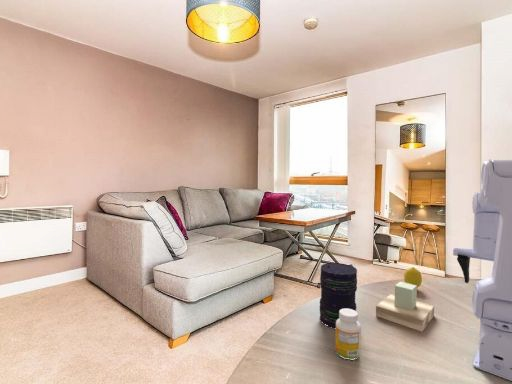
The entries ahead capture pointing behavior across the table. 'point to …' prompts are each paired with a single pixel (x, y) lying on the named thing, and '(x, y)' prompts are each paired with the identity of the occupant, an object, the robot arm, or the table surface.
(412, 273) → the lemon
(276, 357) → the table surface
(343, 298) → the storage jar
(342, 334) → the supplement bottle
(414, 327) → the birch plinth
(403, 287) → the sage block
